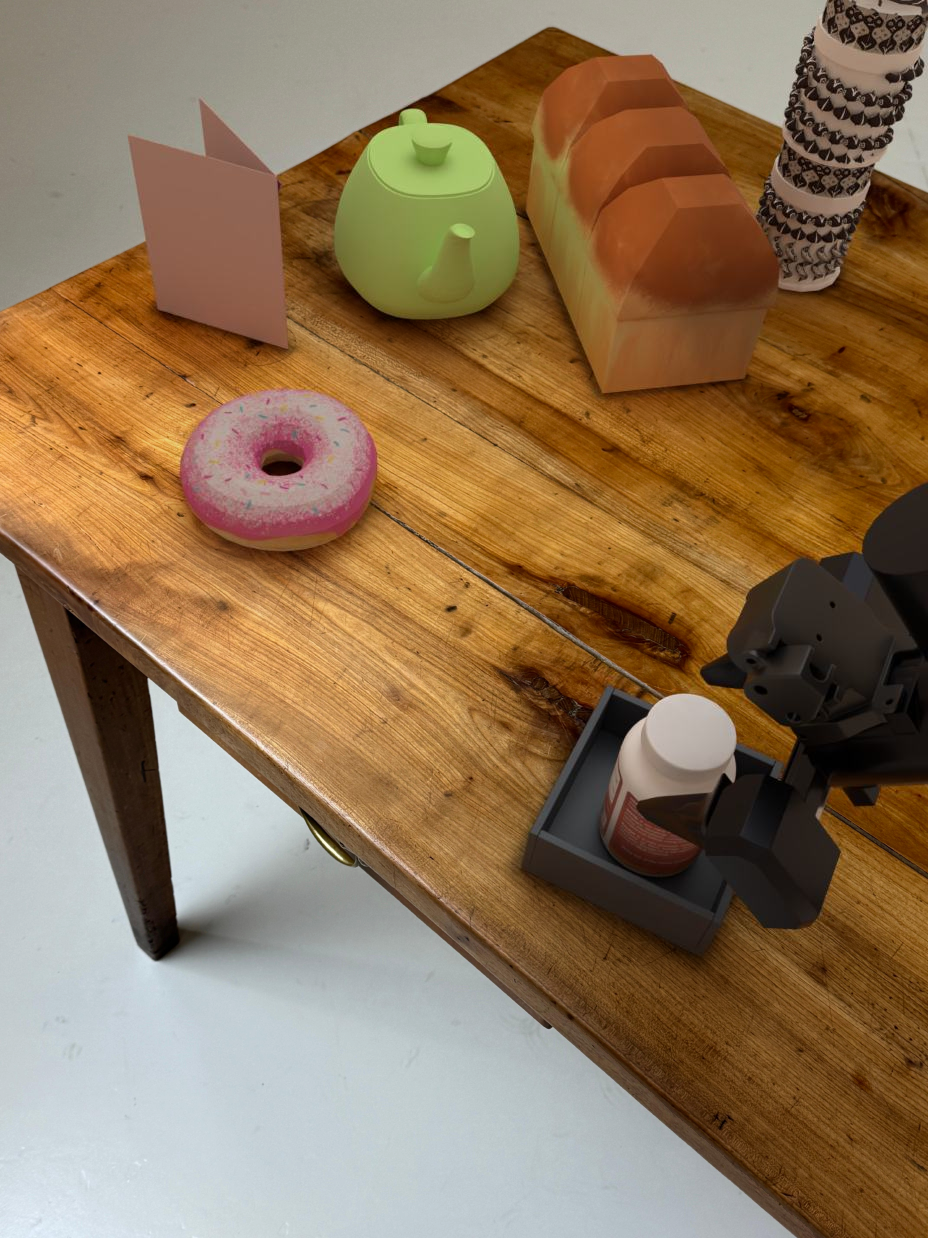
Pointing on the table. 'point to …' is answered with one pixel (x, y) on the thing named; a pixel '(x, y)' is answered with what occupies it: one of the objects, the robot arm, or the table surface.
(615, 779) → the pill bottle
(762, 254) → the bread
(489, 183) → the teapot
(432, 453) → the table surface
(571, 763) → the bin
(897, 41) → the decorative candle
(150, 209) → the greeting card
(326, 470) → the donut
